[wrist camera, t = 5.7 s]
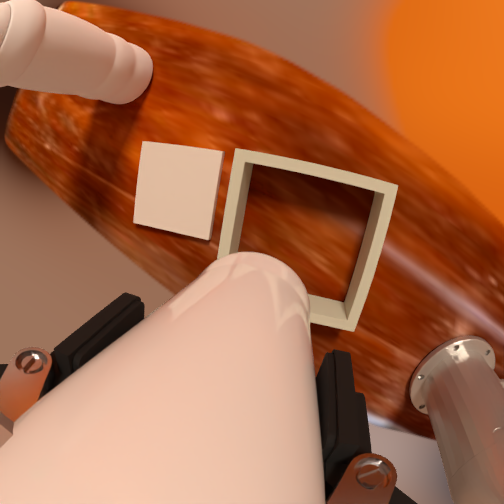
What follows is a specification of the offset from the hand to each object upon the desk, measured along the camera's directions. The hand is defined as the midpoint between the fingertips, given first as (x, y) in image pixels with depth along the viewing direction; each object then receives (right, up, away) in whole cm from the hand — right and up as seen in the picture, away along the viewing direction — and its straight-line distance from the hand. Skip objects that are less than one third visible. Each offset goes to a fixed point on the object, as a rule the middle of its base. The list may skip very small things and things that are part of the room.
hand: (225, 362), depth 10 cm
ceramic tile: (-7, +10, +21) cm, 25 cm away
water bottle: (-13, +24, +19) cm, 33 cm away
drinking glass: (+1, +1, +5) cm, 5 cm away
